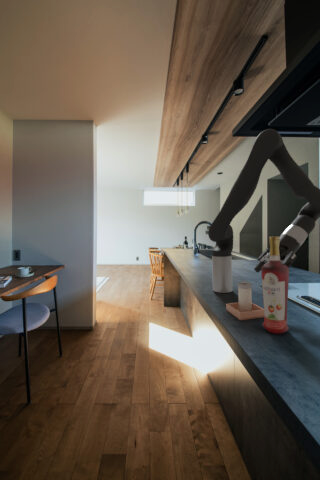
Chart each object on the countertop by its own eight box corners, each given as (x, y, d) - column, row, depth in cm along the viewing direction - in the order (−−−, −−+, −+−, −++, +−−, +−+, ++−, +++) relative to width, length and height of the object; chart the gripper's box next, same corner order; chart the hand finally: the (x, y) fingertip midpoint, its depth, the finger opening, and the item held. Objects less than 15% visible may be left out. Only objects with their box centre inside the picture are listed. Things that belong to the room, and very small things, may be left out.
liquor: (293, 330, 67) (292, 236, 65) (284, 339, 62) (283, 237, 60) (267, 323, 72) (266, 236, 71) (257, 331, 67) (256, 237, 66)
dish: (226, 310, 84) (226, 303, 84) (249, 307, 86) (249, 301, 86) (240, 320, 75) (240, 313, 75) (265, 317, 77) (265, 309, 77)
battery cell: (236, 310, 82) (235, 280, 82) (247, 309, 83) (246, 279, 82) (243, 315, 78) (242, 284, 77) (254, 313, 79) (254, 282, 78)
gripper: (271, 233, 89) (245, 263, 88) (299, 233, 75) (269, 270, 74) (282, 245, 90) (257, 276, 89) (313, 248, 77) (284, 284, 75)
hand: (263, 273), depth 81 cm, fingers open, 8 cm apart
